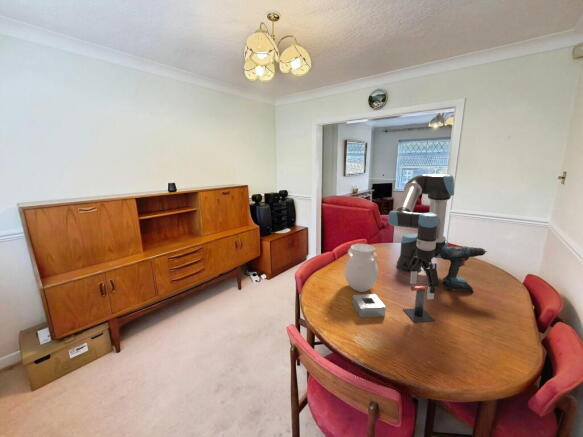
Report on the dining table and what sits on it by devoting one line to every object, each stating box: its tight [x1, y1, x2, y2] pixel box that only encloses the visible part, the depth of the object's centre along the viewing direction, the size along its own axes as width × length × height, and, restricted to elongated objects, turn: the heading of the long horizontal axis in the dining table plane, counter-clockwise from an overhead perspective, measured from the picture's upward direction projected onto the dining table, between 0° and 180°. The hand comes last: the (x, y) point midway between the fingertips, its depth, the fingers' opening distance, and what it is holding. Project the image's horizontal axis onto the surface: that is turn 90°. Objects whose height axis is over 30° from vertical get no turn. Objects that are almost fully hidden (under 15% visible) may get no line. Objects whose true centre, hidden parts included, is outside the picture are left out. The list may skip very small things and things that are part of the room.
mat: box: [402, 307, 436, 324], centre depth 118 cm, size 10×10×1 cm
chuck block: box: [352, 293, 387, 319], centre depth 123 cm, size 12×12×5 cm
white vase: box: [344, 243, 379, 293], centre depth 142 cm, size 19×18×25 cm
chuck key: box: [410, 285, 428, 317], centre depth 117 cm, size 9×4×14 cm, turn 94°
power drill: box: [440, 245, 488, 293], centre depth 140 cm, size 9×23×25 cm, turn 78°
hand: (421, 290), depth 116 cm, fingers open, 13 cm apart
